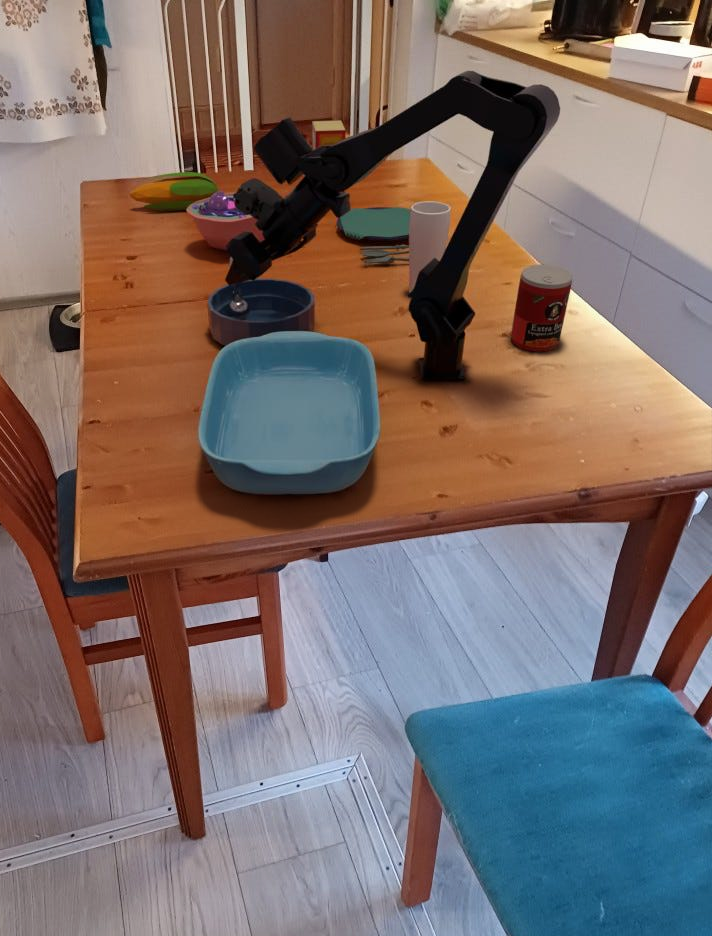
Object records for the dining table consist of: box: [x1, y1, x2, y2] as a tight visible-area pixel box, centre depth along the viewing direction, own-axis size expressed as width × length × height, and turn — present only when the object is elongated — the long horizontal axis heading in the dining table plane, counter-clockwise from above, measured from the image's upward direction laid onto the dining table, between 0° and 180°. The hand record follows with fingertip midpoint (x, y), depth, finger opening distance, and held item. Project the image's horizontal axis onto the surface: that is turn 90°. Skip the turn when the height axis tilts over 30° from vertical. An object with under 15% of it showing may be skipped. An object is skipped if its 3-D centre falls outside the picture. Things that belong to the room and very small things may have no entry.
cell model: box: [186, 190, 265, 251], centre depth 155 cm, size 17×20×11 cm
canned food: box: [510, 264, 574, 353], centre depth 121 cm, size 8×8×11 cm
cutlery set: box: [336, 206, 411, 265], centre depth 160 cm, size 20×30×2 cm, turn 3°
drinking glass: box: [408, 200, 452, 294], centre depth 135 cm, size 7×7×15 cm
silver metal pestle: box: [227, 256, 250, 320], centre depth 126 cm, size 4×4×11 cm
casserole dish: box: [197, 331, 381, 495], centre depth 102 cm, size 37×22×7 cm, turn 179°
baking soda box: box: [311, 119, 347, 193], centre depth 177 cm, size 10×6×16 cm
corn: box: [129, 171, 219, 212], centre depth 176 cm, size 7×8×20 cm
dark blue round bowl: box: [206, 278, 316, 347], centre depth 127 cm, size 17×17×6 cm
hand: (242, 272), depth 124 cm, fingers open, 9 cm apart
